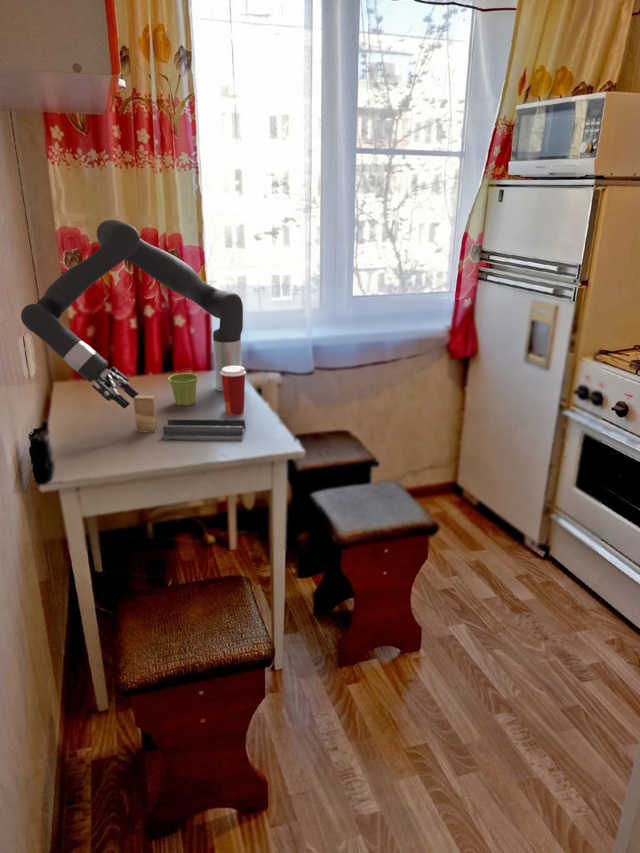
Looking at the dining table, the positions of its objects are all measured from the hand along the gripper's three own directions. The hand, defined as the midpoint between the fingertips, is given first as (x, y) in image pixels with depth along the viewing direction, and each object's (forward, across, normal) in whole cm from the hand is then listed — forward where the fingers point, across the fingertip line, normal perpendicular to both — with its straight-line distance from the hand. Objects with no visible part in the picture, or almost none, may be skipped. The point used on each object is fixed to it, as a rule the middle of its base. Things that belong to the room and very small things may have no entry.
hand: (132, 401), depth 172 cm
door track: (+21, -2, -8) cm, 22 cm away
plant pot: (+13, +24, 0) cm, 27 cm away
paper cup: (+25, +16, -12) cm, 32 cm away
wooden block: (+9, 0, +4) cm, 9 cm away
